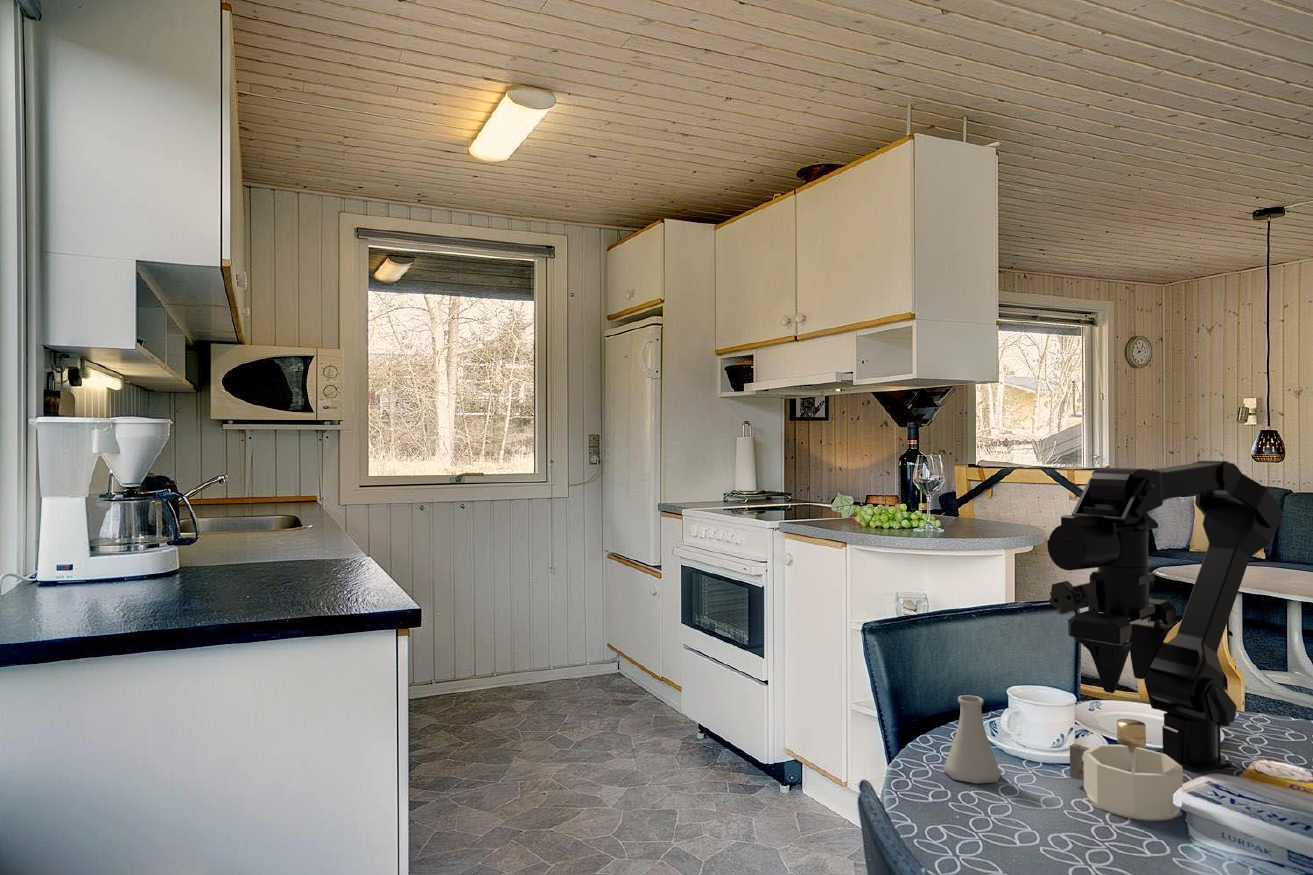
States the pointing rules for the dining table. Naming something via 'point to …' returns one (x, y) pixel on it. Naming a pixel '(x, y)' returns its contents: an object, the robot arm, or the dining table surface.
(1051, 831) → the dining table surface
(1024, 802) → the dining table surface
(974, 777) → the flask
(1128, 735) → the plunger
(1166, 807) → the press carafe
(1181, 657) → the robot arm
